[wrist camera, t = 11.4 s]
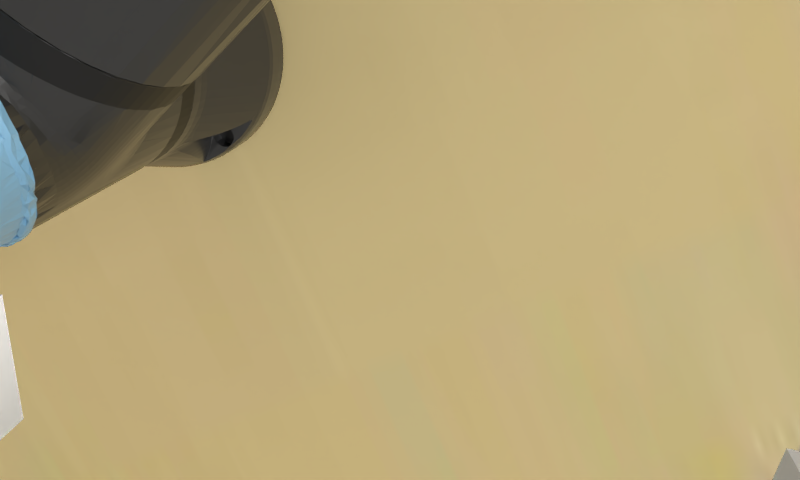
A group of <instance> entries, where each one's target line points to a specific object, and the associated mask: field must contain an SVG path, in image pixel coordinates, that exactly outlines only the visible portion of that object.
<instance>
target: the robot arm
mask: <svg viewBox="0 0 800 480" xmlns="http://www.w3.org/2000/svg"><path fill="white" fill-rule="evenodd" d="M282 70H283V45H282V37H281V31H280V26H279V22H278V19H277V15H276V12H275V9H274V6H273V4H272V2H271V0H0V247H1V246H5V247H8V246H11V245H13V244H14V243H16V242H18V241H21V240H22V239H24V238H25V237H26V236H27V235H28V234H29V233H30V232H31V230H32V229H34V228H35V227H37V226H39V225H41V224H43V223H44V222H46V221H48V220H50V219H51V218H53V217H55V216H57V215H59V214H60V213H62V212H64V211H66V210H68V209H69V208H71V207H73V206H75V205H77V204H78V203H80V202H82V201H84V200H86V199H87V198H89V197H91V196H93V195H95V194H96V193H98V192H100V191H102V190H104V189H105V188H107V187H109V186H111V185H113V184H114V183H116V182H118V181H120V180H122V179H123V178H125V177H127V176H129V175H131V174H132V173H134V172H136V171H138V170H140V169H141V168H143V167H144V166H152V167H186V166H193V165H198V164H202V163H205V162H209V161H211V160H214V159H217V158H219V157H221V156H223V155H224V154H226V153H228V152H230V151H231V150H233V149H234V148H236V147H237V146H239V145H240V144H242V143H243V142H245V141H246V140H247V139H248V138H249V137H251V136H252V135H253V134H254V133H255V132H256V131H257V130H258V128H259V127H260V126H261V125H262V124H263V122H264V121H265V119H266V118H267V116H268V114H269V113H270V111H271V109H272V107H273V105H274V102H275V100H276V97H277V94H278V91H279V87H280V83H281V77H282ZM22 420H23V413H22V408H21V402H20V396H19V390H18V384H17V378H16V373H15V367H14V361H13V355H12V349H11V343H10V338H9V332H8V326H7V320H6V314H5V308H4V303H3V297H2V295H1V294H0V440H1V439H2V438H3V437H4V436H5V435H6V434H7V433H9V432H10V431H11V430H12V429H13V428H14V427H15V426H16V425H17V424H18V423H19V422H20V421H22ZM772 480H800V451H797V450H792V449H786V451H785V453H784V455H783V458H782V460H781V462H780V464H779V466H778V468H777V471H776V473H775V475H774V477H773V479H772Z"/></svg>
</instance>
